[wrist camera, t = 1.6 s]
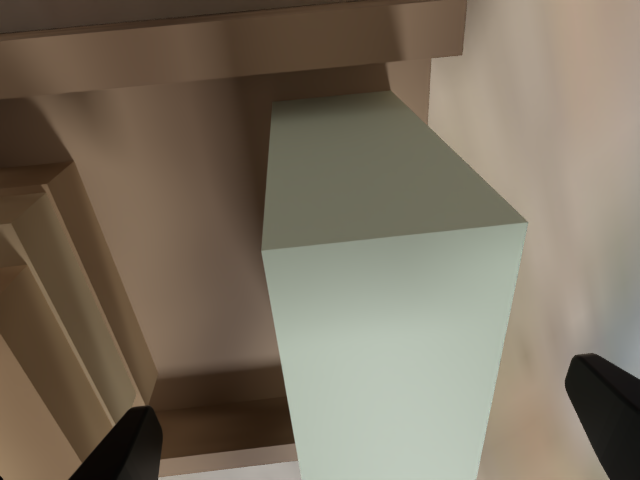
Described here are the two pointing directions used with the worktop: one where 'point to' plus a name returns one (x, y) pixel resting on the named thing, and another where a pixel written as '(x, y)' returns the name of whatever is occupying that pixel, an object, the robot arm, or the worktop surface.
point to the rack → (204, 180)
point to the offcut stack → (61, 327)
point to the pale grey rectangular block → (384, 289)
